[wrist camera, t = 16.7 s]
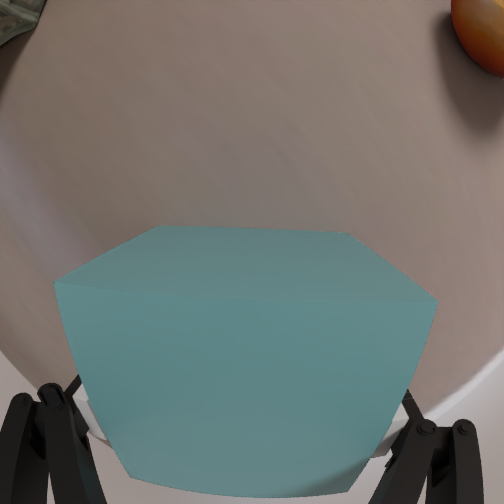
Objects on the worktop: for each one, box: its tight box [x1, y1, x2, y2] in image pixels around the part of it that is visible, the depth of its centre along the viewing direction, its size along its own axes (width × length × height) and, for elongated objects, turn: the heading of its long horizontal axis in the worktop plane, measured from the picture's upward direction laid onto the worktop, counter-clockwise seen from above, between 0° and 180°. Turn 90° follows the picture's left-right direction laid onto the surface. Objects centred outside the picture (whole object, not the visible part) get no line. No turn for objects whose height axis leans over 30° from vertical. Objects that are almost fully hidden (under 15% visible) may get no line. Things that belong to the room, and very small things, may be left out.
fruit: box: [451, 0, 504, 79], centre depth 7 cm, size 8×8×8 cm
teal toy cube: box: [53, 226, 438, 498], centre depth 12 cm, size 10×10×9 cm
